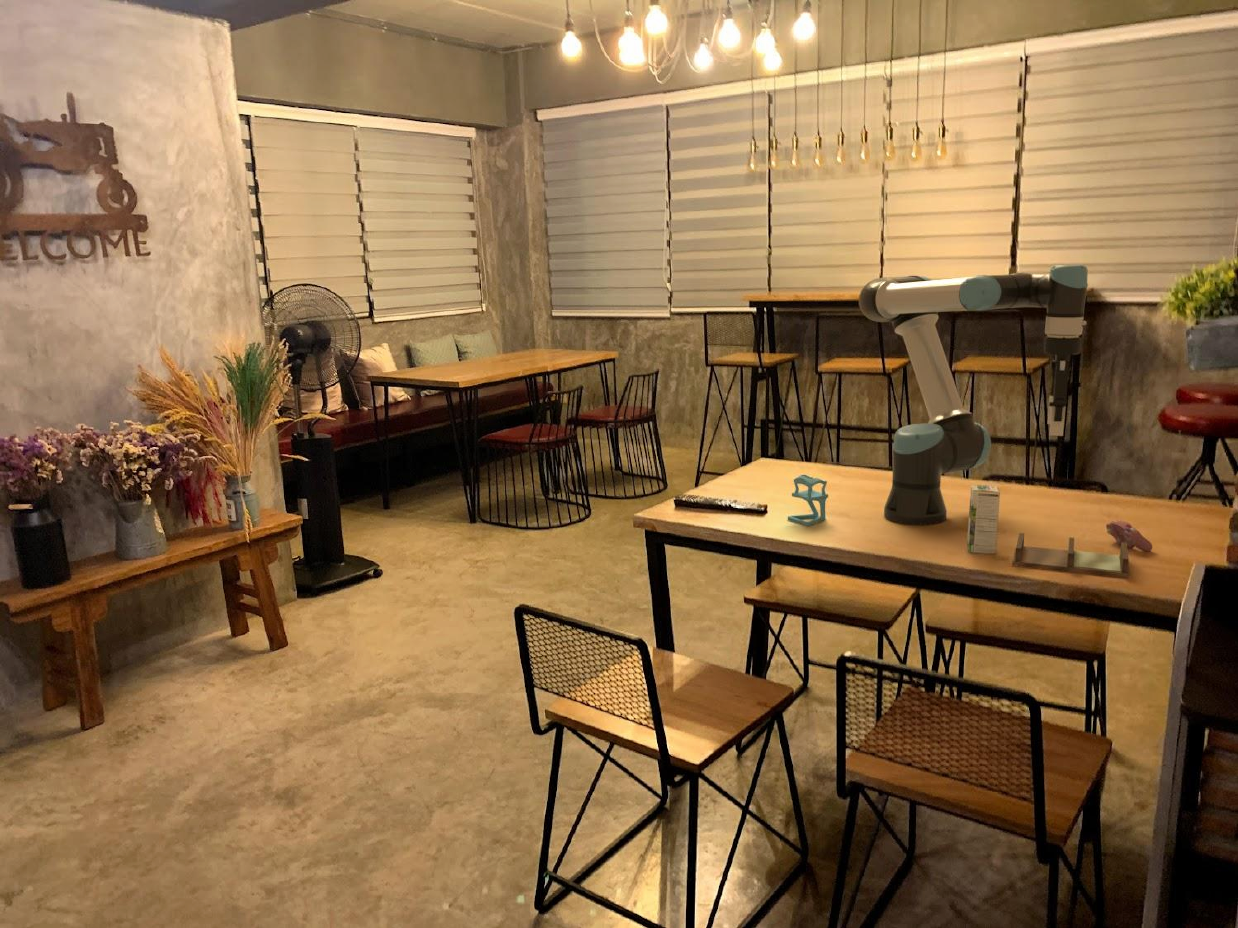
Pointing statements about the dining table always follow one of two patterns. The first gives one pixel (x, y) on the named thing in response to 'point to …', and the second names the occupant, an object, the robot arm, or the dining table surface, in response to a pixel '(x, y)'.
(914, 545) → the dining table surface
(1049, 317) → the robot arm
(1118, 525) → the video game controller
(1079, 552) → the slot rack
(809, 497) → the chair
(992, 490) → the syrup box
